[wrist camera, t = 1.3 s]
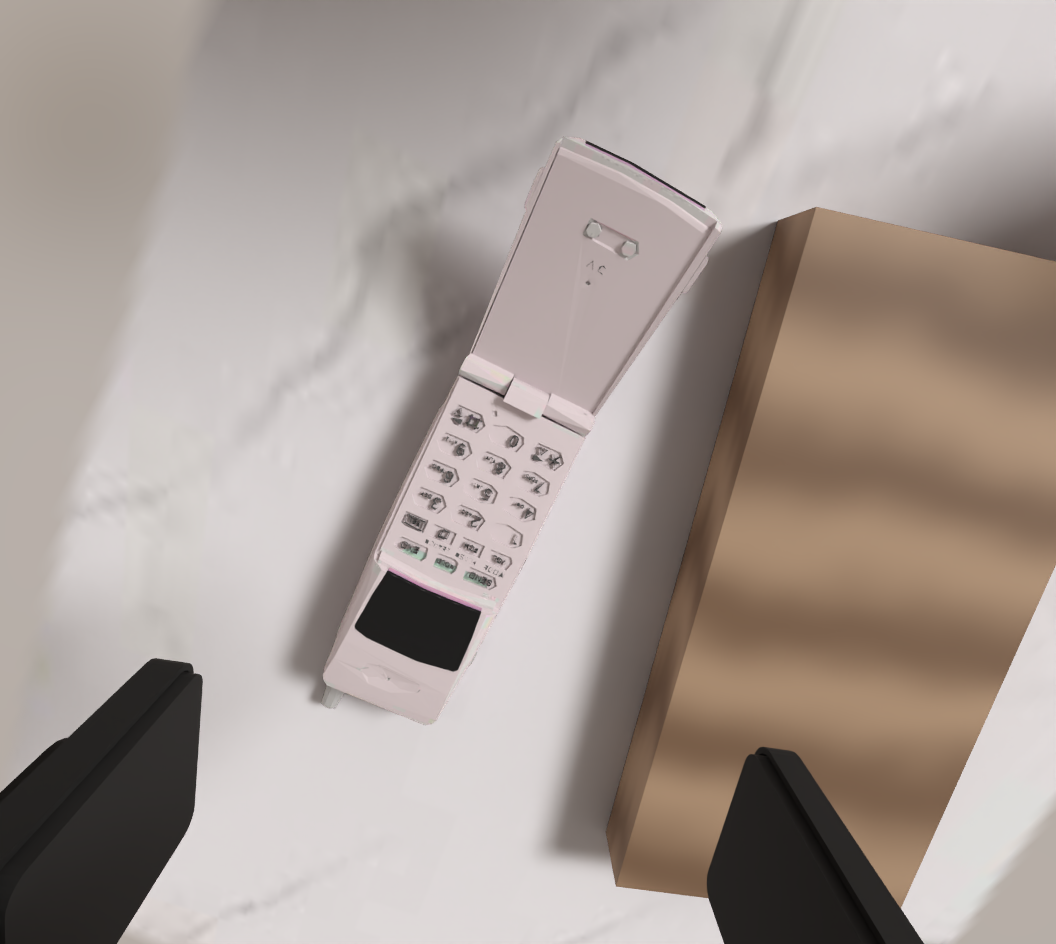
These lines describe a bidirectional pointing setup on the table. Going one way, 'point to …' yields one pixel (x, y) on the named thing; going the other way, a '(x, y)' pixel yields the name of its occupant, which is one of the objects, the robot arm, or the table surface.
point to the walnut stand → (854, 545)
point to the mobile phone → (515, 421)
